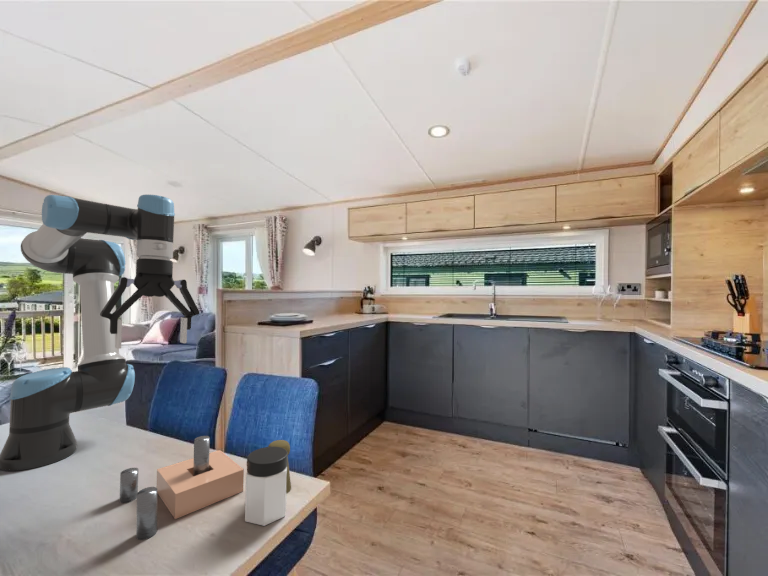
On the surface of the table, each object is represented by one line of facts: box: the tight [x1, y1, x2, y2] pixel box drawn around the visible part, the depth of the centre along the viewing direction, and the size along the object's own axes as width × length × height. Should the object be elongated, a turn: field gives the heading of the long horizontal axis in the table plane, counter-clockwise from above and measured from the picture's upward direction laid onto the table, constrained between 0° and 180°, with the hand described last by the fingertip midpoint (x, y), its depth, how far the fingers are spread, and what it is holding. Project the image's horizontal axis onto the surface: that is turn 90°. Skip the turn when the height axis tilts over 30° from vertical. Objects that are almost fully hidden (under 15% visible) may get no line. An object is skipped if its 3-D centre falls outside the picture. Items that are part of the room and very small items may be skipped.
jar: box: [244, 446, 289, 527], centre depth 72 cm, size 9×8×12 cm
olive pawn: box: [267, 439, 292, 494], centre depth 80 cm, size 6×6×11 cm
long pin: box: [193, 435, 211, 476], centre depth 79 cm, size 3×3×12 cm
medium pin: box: [135, 486, 158, 541], centre depth 65 cm, size 3×3×8 cm
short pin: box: [119, 467, 139, 504], centre depth 76 cm, size 3×3×6 cm
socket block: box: [155, 449, 245, 520], centre depth 79 cm, size 14×14×5 cm
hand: (152, 345), depth 84 cm, fingers open, 13 cm apart
